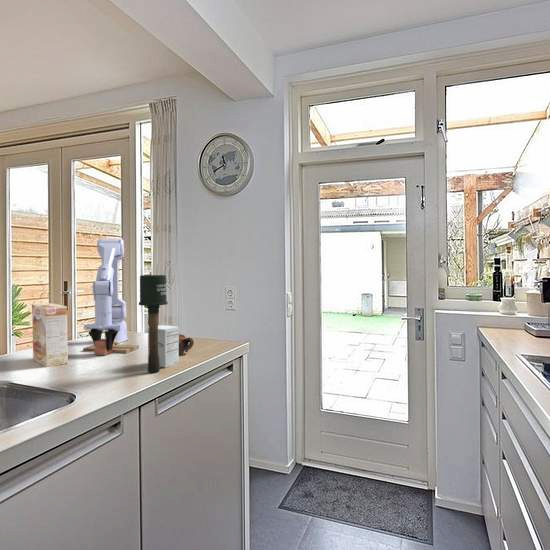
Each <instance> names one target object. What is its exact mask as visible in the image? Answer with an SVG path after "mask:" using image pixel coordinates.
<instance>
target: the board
mask: <svg viewBox="0 0 550 550" xmlns="http://www.w3.org/2000/svg"><path fill="white" fill-rule="evenodd" d="M139 347H140V346H139V344H119V343H117V345H115V344H113V352H120V353H119V354H129V353H130V352H133V351H136V350H138V349H139ZM84 351H95V345H94V344H92V345H89V346H86V347H83V348H82V352H84ZM128 352H129V353H128Z"/></svg>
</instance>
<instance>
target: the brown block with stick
mask: <svg viewBox="0 0 550 550" xmlns="http://www.w3.org/2000/svg"><path fill="white" fill-rule="evenodd" d="M113 344H115V345H117V344H119V343H118V340H114V342H113ZM112 352H113V346H112V350H107V341H106V339H105V338H101V339H100V340H97V341H95V352H94V355H95V356H107V355H110V354H112Z"/></svg>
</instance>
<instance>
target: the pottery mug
mask: <svg viewBox="0 0 550 550" xmlns="http://www.w3.org/2000/svg"><path fill="white" fill-rule="evenodd" d="M194 343H195V341H194V339H193V338H192V337H187V338H186V336H185V335H184V334H181V333H179V356H184V352H185V353H188V352H189V350H191V349H192V348H193V346H194V345H195V344H194Z"/></svg>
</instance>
